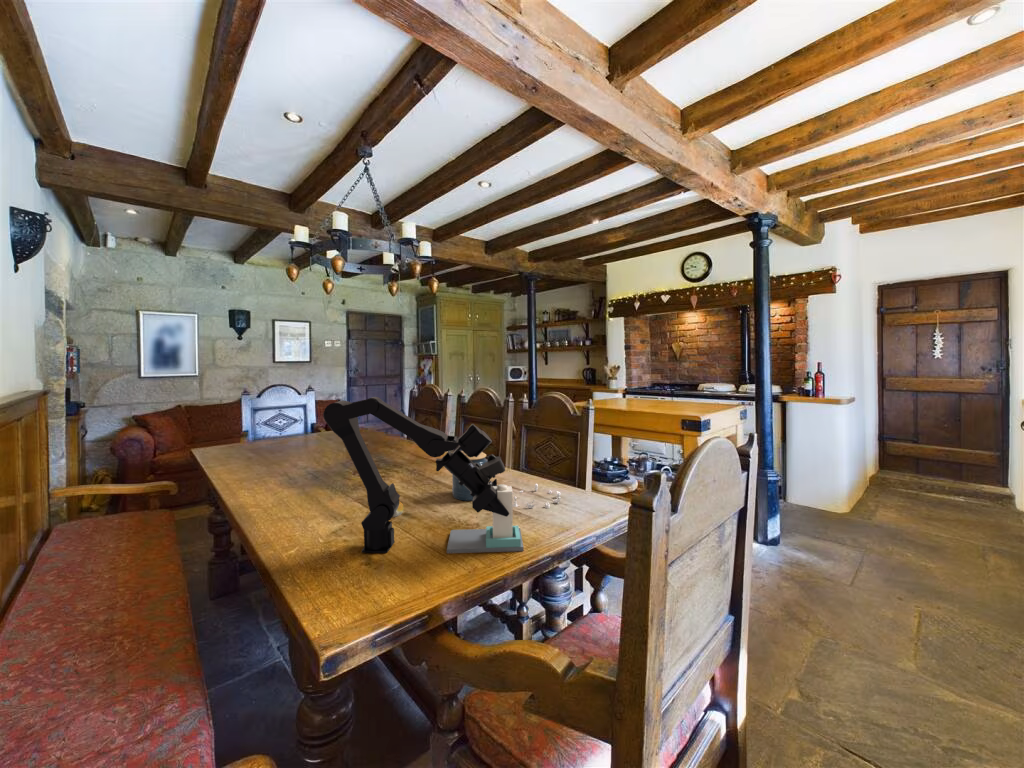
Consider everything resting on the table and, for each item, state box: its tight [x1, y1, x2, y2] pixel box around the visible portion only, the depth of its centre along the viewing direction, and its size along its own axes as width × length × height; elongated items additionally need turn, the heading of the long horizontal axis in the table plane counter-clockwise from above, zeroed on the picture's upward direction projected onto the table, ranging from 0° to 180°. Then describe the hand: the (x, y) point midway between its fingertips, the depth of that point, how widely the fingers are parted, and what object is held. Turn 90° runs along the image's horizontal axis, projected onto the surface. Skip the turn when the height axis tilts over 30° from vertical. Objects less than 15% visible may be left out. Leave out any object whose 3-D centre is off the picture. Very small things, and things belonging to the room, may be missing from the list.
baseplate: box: [446, 525, 524, 554], centre depth 112 cm, size 19×12×3 cm, turn 93°
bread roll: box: [392, 500, 404, 518], centre depth 133 cm, size 8×9×4 cm
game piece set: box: [512, 483, 562, 509], centre depth 145 cm, size 19×20×4 cm
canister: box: [451, 450, 488, 502], centre depth 149 cm, size 13×13×18 cm
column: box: [492, 483, 514, 538], centre depth 110 cm, size 5×5×13 cm
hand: (507, 511), depth 110 cm, fingers closed on column, 5 cm apart
